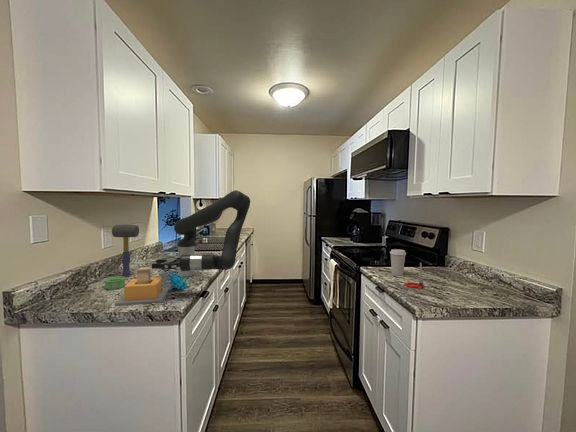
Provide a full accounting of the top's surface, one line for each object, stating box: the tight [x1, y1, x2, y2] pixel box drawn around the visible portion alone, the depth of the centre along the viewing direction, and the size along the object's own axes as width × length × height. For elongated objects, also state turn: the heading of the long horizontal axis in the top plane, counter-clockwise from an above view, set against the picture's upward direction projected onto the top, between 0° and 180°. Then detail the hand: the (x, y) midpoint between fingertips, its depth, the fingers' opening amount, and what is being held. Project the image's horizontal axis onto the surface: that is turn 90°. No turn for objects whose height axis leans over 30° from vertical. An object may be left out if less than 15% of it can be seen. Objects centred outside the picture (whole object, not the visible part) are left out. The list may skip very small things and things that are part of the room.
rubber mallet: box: [111, 224, 140, 278], centre depth 159 cm, size 12×8×30 cm, turn 98°
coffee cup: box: [389, 248, 407, 276], centre depth 173 cm, size 10×10×15 cm
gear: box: [168, 272, 188, 291], centre depth 138 cm, size 11×6×10 cm
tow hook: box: [403, 262, 425, 290], centre depth 148 cm, size 8×13×9 cm
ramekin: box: [104, 275, 126, 290], centre depth 139 cm, size 9×9×4 cm
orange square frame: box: [114, 277, 170, 307], centre depth 125 cm, size 18×18×7 cm
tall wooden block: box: [136, 266, 152, 284], centre depth 125 cm, size 4×4×12 cm
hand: (154, 264), depth 125 cm, fingers open, 8 cm apart
